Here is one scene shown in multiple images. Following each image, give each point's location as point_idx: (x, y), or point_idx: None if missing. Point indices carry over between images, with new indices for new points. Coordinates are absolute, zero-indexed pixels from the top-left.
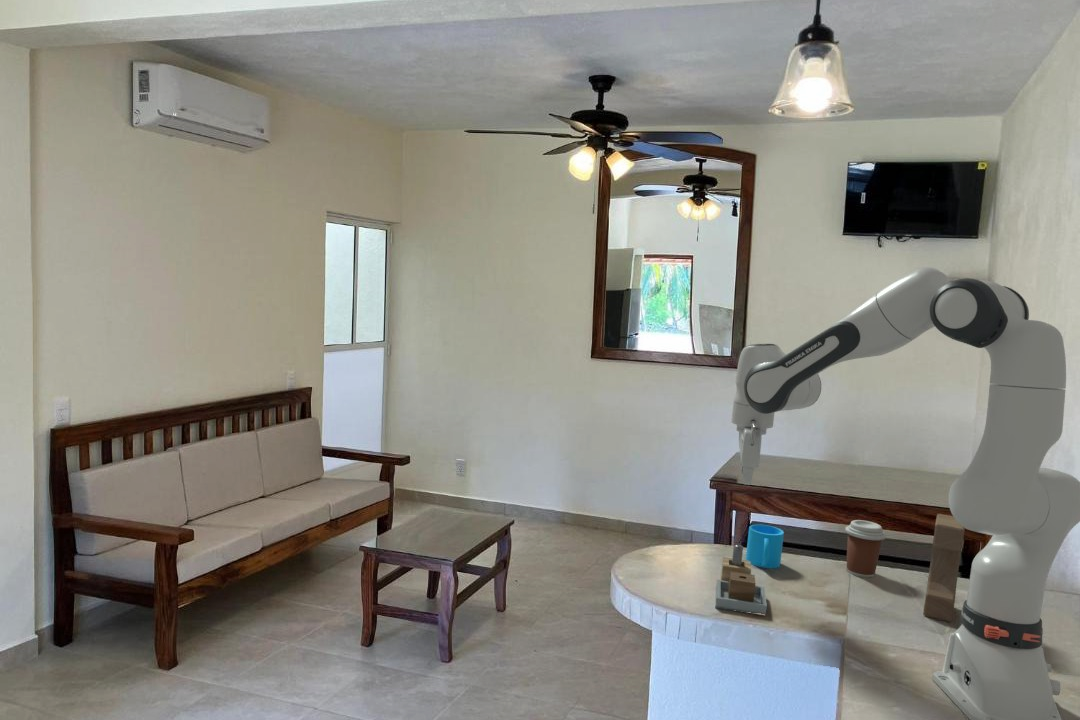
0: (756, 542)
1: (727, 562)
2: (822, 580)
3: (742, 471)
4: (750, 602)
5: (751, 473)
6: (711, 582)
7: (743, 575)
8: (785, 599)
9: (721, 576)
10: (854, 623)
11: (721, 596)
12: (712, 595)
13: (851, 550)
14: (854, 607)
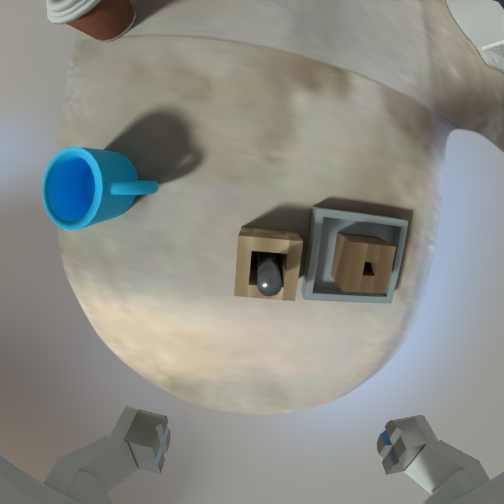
0: (108, 209)
1: None
2: (172, 76)
3: (167, 450)
4: (400, 248)
5: (457, 455)
6: None
7: (359, 266)
8: (311, 163)
9: None
10: (378, 71)
11: None
12: None
13: (103, 20)
14: (303, 46)
